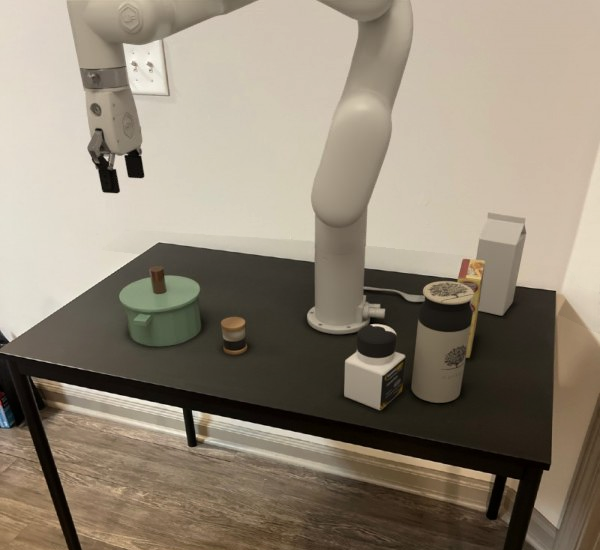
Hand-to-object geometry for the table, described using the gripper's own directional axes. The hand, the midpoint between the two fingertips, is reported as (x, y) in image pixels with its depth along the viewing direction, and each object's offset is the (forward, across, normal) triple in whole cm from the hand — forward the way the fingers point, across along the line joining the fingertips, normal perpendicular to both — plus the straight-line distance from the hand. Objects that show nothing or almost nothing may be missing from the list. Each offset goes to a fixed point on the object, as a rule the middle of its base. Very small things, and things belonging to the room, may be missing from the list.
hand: (124, 184), depth 110 cm
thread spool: (+26, -10, -22) cm, 36 cm away
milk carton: (+27, +18, -69) cm, 76 cm away
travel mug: (+27, -16, -59) cm, 67 cm away
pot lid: (+19, -5, -6) cm, 21 cm away
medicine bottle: (+27, -19, -50) cm, 59 cm away
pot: (+26, -5, -6) cm, 28 cm away
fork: (+27, +20, -47) cm, 57 cm away
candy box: (+27, 0, -63) cm, 69 cm away
